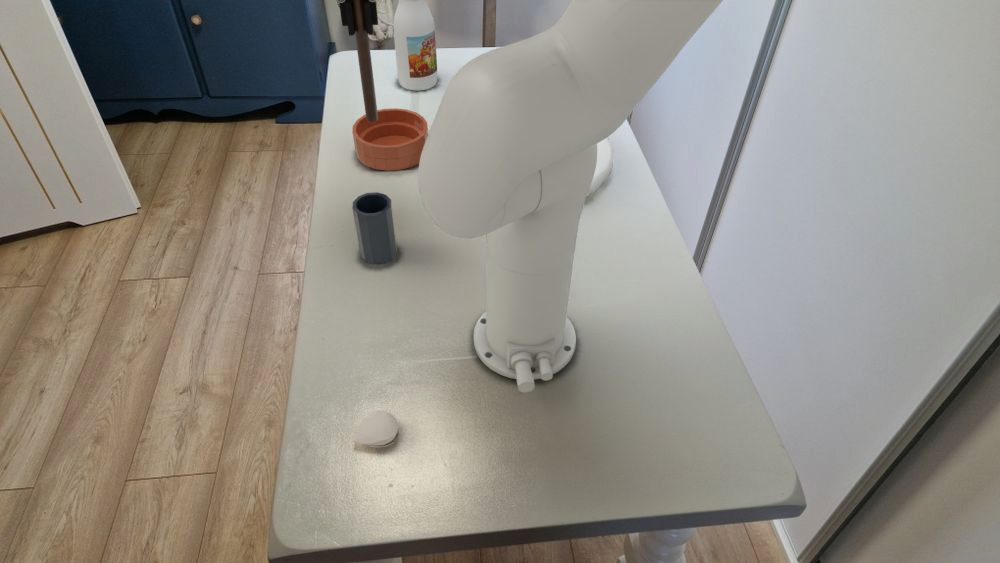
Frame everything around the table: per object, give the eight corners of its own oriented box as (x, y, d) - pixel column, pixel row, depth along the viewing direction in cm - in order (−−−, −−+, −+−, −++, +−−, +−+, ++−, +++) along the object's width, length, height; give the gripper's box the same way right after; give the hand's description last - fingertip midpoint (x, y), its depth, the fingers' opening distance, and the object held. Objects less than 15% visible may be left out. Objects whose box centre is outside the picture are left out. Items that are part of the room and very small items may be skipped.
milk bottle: (395, 91, 127) (384, -16, 113) (401, 72, 133) (391, -32, 119) (435, 92, 127) (429, -15, 113) (439, 73, 132) (434, -31, 119)
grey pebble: (405, 442, 71) (403, 429, 69) (361, 463, 69) (358, 450, 67) (389, 413, 73) (387, 400, 72) (347, 432, 71) (343, 419, 70)
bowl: (430, 171, 108) (429, 145, 104) (355, 175, 106) (350, 149, 103) (427, 132, 116) (426, 106, 113) (357, 135, 115) (354, 110, 112)
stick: (378, 122, 90) (362, -14, 77) (366, 122, 89) (348, -14, 77) (378, 116, 91) (362, -19, 78) (366, 116, 91) (348, -19, 78)
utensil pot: (397, 265, 91) (391, 214, 85) (360, 268, 90) (351, 216, 84) (397, 242, 95) (391, 191, 88) (362, 244, 94) (353, 193, 88)
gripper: (257, -133, 65) (293, 46, 78) (416, -134, 67) (426, 41, 80) (266, -151, 70) (298, 20, 83) (413, -151, 72) (423, 16, 85)
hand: (361, 29), depth 81 cm, fingers closed on stick, 1 cm apart
